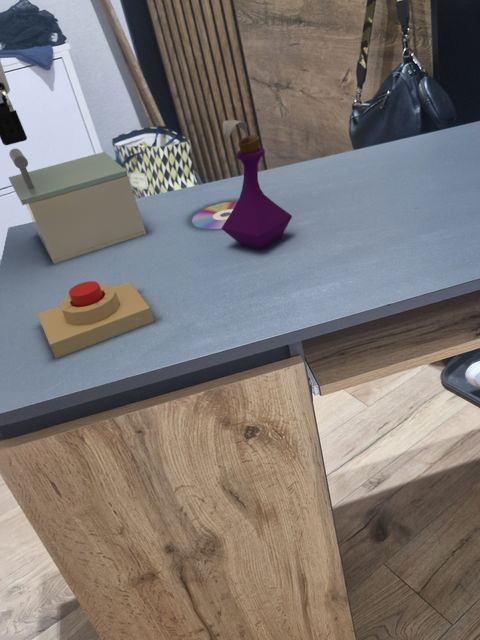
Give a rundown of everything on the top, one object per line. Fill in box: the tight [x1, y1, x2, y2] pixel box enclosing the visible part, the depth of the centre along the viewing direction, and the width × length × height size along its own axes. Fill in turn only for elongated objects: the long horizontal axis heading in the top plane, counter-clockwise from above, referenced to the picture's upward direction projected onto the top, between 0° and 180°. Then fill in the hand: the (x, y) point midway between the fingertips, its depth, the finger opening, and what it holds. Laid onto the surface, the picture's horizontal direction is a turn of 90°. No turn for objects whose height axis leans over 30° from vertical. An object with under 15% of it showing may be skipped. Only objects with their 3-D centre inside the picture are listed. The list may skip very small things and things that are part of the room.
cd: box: [191, 200, 238, 230], centre depth 105 cm, size 11×11×1 cm
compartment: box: [25, 175, 147, 264], centre depth 102 cm, size 15×14×10 cm
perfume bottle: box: [221, 119, 293, 250], centre depth 90 cm, size 8×8×18 cm
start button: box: [68, 280, 104, 307], centre depth 78 cm, size 4×4×2 cm
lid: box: [8, 148, 128, 206], centre depth 98 cm, size 15×14×6 cm
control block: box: [37, 281, 155, 359], centre depth 79 cm, size 12×9×4 cm
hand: (11, 135), depth 93 cm, fingers open, 9 cm apart
